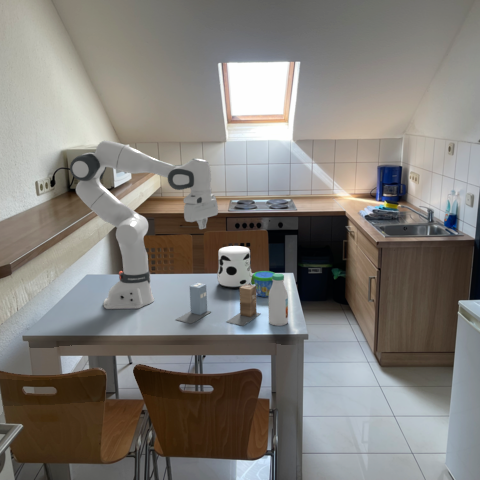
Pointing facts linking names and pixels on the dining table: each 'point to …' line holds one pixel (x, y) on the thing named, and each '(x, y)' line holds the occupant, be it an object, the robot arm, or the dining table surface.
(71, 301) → the dining table surface
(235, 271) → the milk container
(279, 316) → the milk bottle
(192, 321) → the grey flat block
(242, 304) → the wooden box
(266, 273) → the snack cup
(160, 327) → the dining table surface
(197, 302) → the rectangular block
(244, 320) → the grey rectangular plate
